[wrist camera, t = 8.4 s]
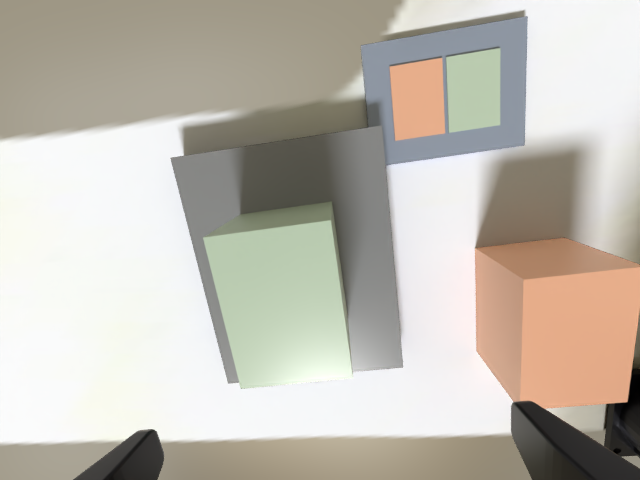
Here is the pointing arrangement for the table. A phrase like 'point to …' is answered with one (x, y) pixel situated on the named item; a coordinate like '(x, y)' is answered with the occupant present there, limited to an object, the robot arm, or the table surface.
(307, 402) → the table surface
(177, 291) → the table surface
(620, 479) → the robot arm
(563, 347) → the terracotta brick
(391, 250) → the base plate
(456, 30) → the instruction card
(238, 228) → the sage brick
